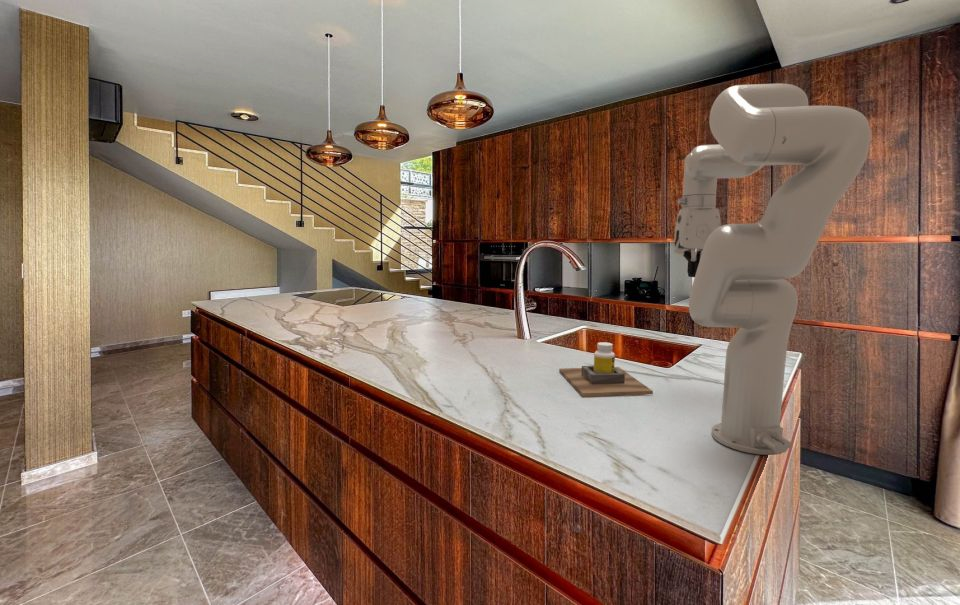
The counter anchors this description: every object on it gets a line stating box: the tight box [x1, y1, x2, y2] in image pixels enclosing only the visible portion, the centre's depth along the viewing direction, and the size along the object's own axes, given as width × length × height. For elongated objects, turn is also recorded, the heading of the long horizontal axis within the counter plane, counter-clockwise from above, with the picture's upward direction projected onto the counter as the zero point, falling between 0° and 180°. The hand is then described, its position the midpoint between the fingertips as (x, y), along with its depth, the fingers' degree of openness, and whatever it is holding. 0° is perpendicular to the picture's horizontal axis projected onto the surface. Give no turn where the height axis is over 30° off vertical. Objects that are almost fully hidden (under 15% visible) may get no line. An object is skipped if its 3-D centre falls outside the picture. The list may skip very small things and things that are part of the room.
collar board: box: [558, 365, 654, 398], centre depth 122 cm, size 22×18×4 cm
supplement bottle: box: [593, 341, 616, 374], centre depth 122 cm, size 5×5×10 cm
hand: (694, 276), depth 115 cm, fingers closed
